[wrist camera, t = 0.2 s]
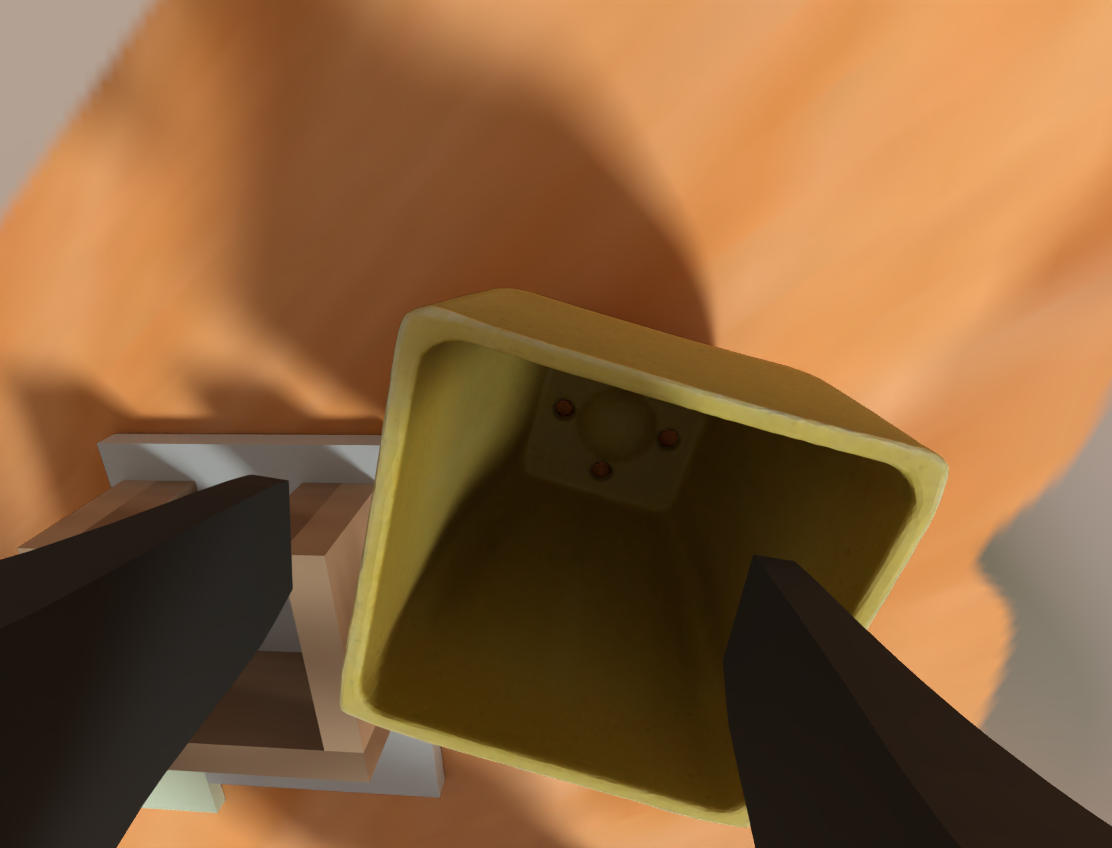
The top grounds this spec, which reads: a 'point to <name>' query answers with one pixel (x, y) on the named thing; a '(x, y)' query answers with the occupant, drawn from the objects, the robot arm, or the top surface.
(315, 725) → the c link
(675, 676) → the flower pot
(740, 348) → the top surface
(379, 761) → the stand
